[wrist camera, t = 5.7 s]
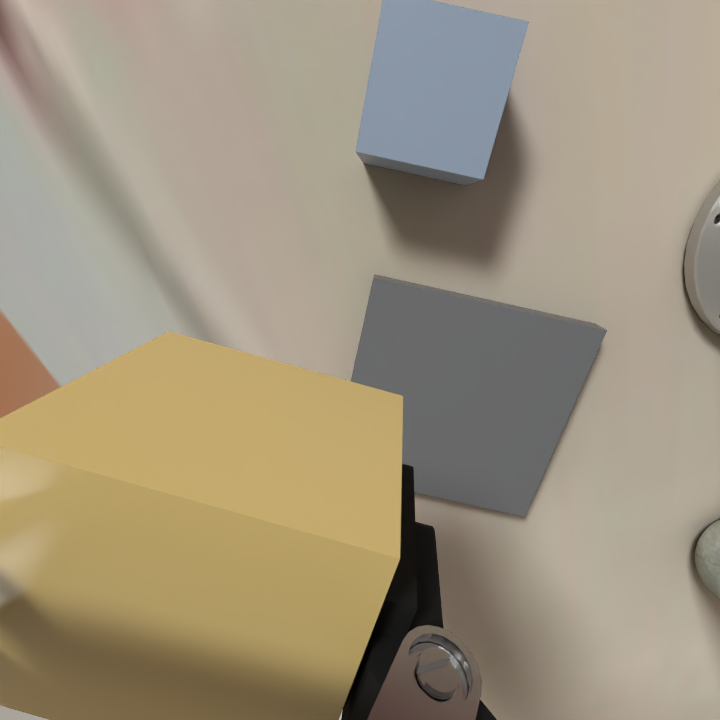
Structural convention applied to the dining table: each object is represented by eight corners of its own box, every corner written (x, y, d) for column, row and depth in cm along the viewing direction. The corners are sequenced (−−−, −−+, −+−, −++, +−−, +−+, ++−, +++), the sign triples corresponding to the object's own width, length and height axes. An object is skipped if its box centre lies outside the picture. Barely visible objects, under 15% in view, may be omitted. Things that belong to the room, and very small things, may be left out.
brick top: (499, 63, 21) (528, 21, 17) (465, 185, 23) (483, 179, 19) (386, 38, 21) (384, -10, 17) (363, 163, 23) (355, 151, 19)
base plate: (595, 323, 25) (607, 330, 24) (518, 502, 30) (524, 517, 29) (374, 274, 25) (373, 278, 24) (333, 461, 30) (330, 473, 29)
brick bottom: (403, 396, 10) (399, 558, 5) (346, 570, 12) (309, 794, 8) (168, 331, 10) (-35, 436, 5) (154, 516, 12) (-1, 704, 8)
